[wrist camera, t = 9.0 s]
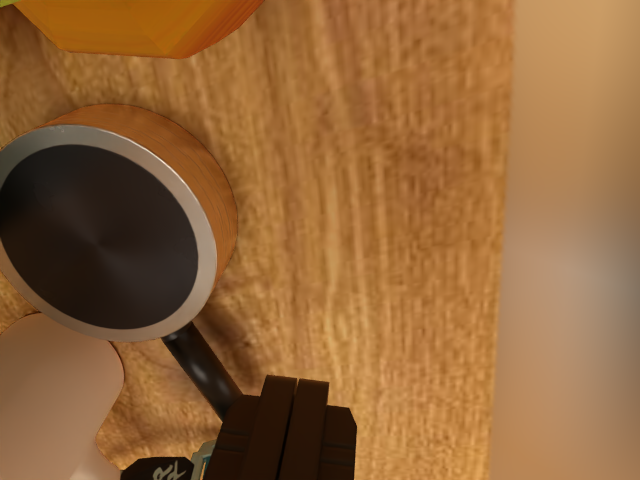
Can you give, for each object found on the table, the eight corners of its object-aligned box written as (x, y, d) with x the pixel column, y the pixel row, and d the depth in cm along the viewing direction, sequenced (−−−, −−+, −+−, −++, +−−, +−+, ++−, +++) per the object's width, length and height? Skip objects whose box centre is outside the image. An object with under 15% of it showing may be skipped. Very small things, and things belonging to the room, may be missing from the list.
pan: (-16, 160, 22) (-73, 187, 19) (158, 61, 19) (120, 76, 16) (182, 414, 27) (159, 463, 24) (338, 365, 24) (332, 414, 22)
